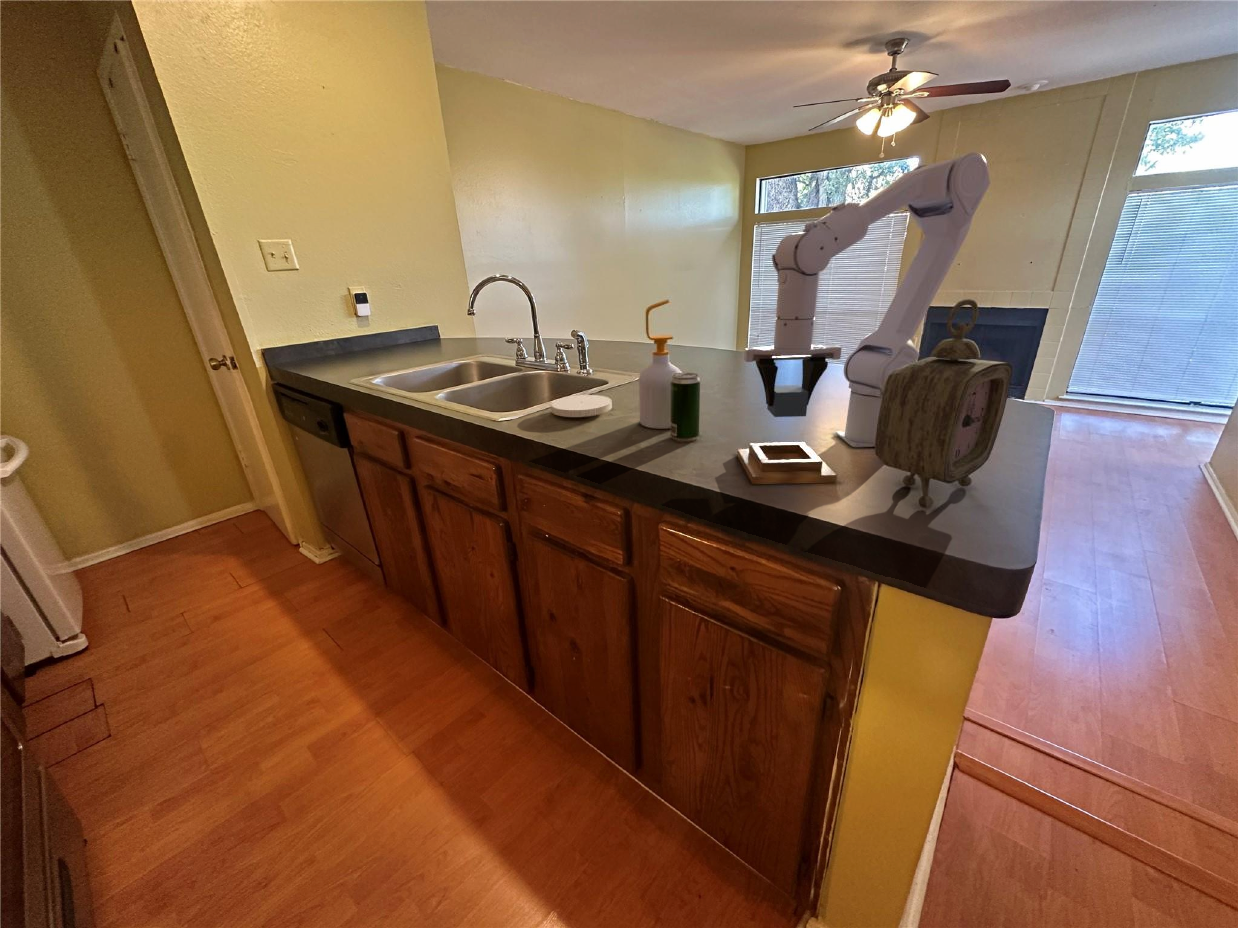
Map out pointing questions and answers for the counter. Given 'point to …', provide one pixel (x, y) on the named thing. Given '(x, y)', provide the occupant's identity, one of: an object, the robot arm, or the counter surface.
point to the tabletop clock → (943, 411)
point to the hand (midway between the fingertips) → (787, 404)
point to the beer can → (685, 406)
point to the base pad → (784, 464)
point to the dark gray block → (789, 401)
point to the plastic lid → (581, 405)
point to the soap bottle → (656, 383)
